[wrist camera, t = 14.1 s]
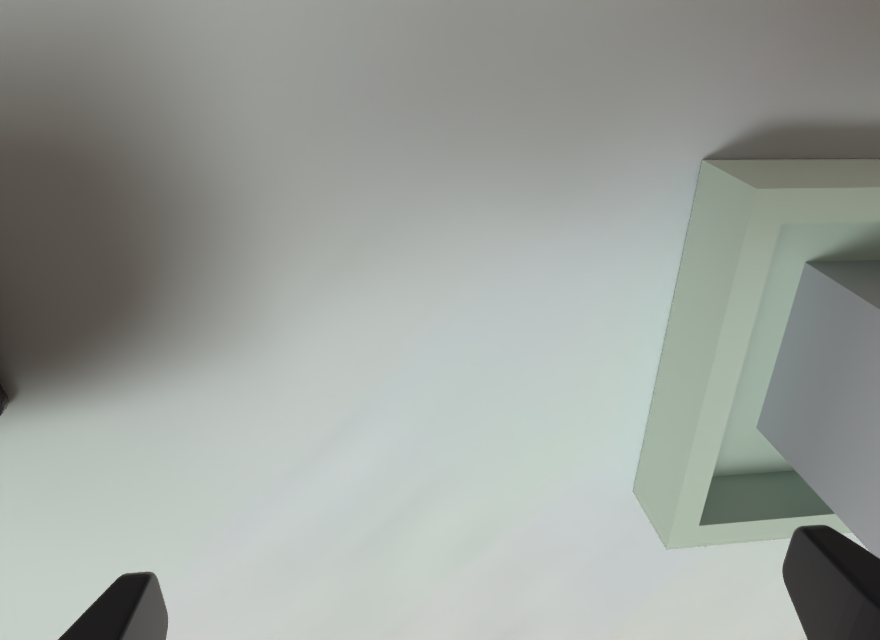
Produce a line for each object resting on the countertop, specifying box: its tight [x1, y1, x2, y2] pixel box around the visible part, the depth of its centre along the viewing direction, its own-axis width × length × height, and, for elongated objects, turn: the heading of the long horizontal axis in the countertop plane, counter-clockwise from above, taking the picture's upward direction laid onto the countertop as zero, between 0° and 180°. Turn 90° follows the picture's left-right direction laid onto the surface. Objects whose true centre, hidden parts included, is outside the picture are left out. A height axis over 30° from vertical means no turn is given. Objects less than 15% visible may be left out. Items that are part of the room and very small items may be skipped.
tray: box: [633, 159, 880, 550], centre depth 24 cm, size 13×13×3 cm
